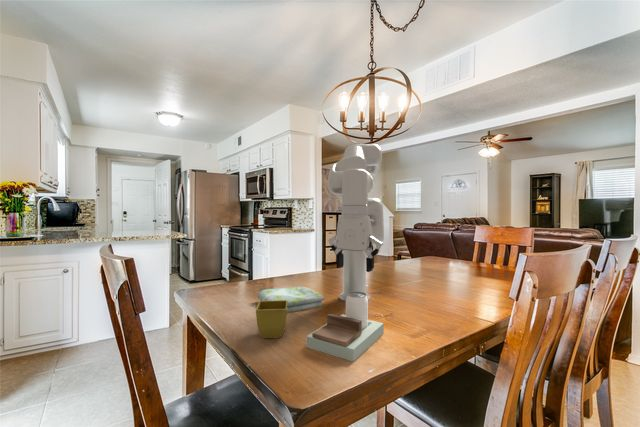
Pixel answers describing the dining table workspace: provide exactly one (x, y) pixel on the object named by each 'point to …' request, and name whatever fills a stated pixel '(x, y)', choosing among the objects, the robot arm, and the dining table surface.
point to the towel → (293, 297)
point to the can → (357, 307)
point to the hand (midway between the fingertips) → (354, 269)
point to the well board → (354, 347)
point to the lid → (339, 330)
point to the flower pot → (271, 318)
